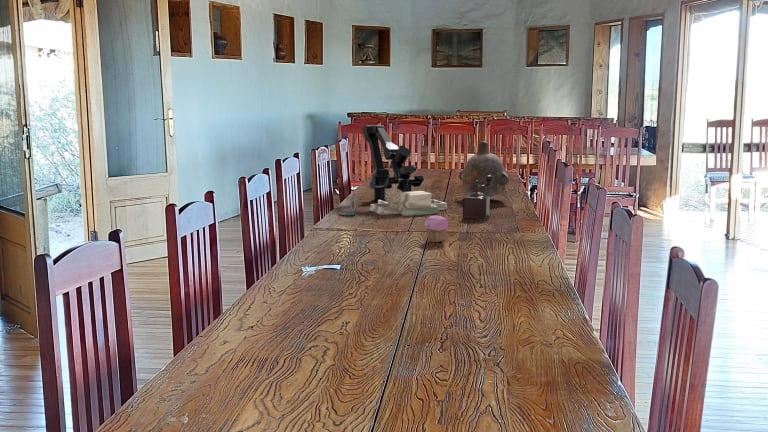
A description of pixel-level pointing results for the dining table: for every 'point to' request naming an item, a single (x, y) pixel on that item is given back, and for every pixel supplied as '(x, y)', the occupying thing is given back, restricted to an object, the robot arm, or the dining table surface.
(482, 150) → the jug
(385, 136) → the robot arm
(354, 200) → the pocket watch
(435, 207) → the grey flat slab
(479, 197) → the manual coffee grinder
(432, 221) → the cupcake
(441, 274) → the dining table surface
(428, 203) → the birch block
